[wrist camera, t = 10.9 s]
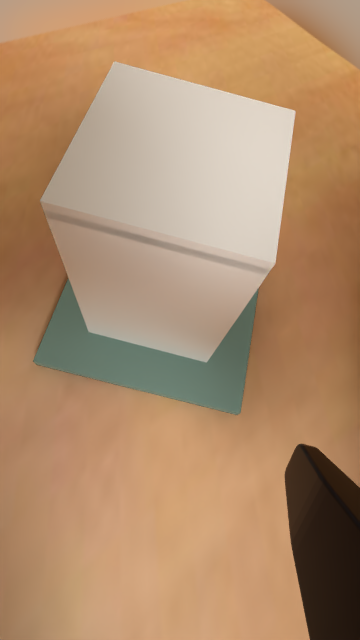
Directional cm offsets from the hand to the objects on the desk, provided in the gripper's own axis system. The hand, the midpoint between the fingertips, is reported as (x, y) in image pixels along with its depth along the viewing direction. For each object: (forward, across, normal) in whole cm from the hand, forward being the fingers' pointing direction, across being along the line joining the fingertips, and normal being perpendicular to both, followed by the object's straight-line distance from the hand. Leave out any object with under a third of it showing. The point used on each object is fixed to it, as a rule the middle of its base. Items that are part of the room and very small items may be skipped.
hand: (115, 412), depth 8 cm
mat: (+11, 0, 0) cm, 11 cm away
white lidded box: (+10, 0, 0) cm, 10 cm away
